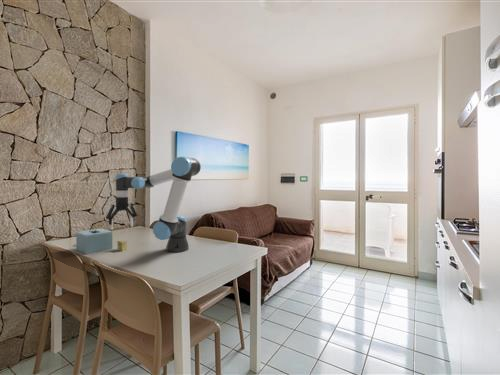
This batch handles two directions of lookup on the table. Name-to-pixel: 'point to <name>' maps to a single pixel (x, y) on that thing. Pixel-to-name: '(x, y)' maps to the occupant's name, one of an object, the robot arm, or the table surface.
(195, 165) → the robot arm
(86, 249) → the box
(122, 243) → the yellow rectangular block
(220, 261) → the table surface
